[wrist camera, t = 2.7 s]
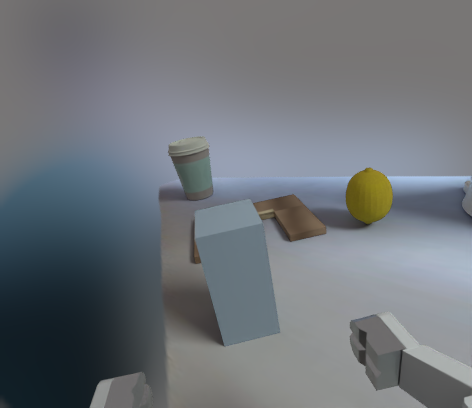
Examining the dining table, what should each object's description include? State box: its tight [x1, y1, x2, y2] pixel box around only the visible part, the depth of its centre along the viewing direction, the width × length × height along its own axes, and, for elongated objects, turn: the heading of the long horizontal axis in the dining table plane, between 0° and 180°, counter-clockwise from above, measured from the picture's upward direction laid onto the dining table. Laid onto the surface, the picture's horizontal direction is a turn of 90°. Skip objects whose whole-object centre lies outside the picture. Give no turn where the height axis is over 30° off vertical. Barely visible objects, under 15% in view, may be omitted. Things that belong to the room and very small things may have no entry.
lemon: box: [346, 168, 393, 224], centre depth 36 cm, size 6×6×8 cm
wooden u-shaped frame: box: [194, 194, 326, 264], centre depth 42 cm, size 18×13×1 cm
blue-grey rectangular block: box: [195, 199, 280, 346], centre depth 24 cm, size 5×5×11 cm
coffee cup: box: [168, 137, 213, 200], centre depth 57 cm, size 9×9×12 cm
